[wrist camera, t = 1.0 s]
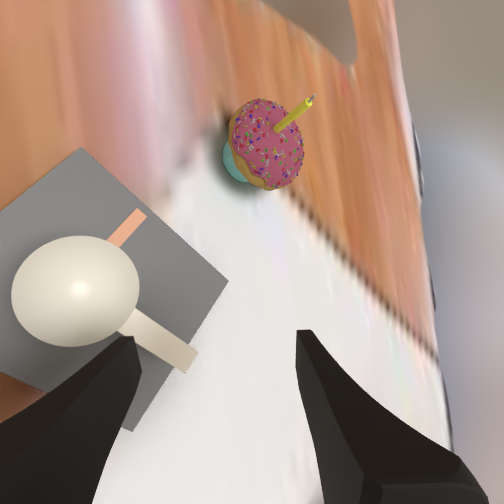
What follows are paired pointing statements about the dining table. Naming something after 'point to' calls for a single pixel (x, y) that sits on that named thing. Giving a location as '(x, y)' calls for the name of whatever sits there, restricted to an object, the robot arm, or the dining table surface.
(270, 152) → the cupcake
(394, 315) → the dining table surface
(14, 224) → the post board
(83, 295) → the cream ball joystick
